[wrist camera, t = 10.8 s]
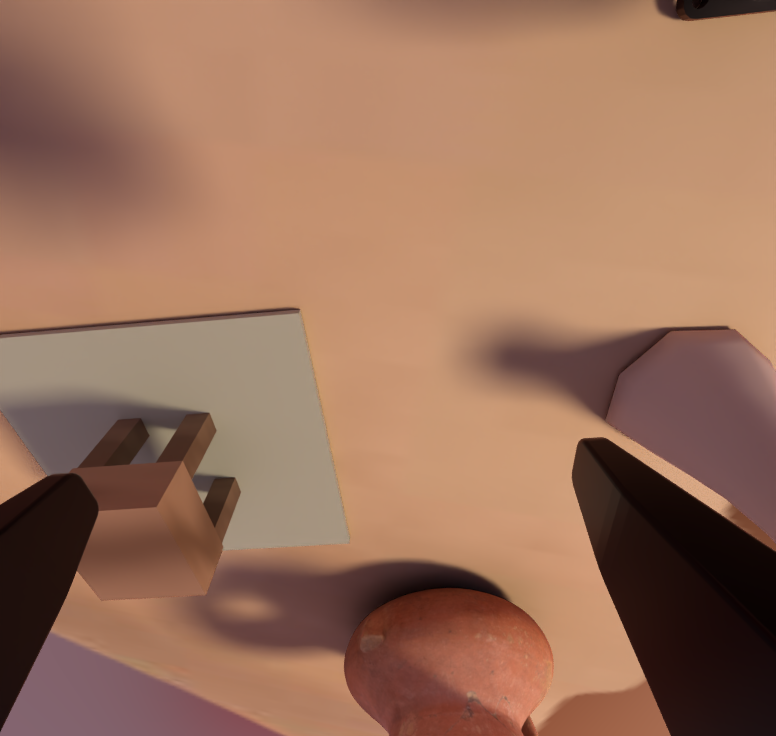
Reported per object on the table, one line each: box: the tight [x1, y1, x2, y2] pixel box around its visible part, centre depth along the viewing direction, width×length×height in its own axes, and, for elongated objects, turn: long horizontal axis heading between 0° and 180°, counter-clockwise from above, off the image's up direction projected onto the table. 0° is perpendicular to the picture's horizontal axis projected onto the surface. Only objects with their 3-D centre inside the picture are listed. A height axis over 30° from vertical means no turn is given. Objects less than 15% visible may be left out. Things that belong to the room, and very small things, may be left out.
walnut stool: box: [69, 413, 241, 601], centre depth 21 cm, size 6×5×6 cm
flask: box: [605, 329, 776, 543], centre depth 17 cm, size 7×7×10 cm
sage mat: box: [0, 309, 350, 551], centre depth 24 cm, size 16×16×1 cm
